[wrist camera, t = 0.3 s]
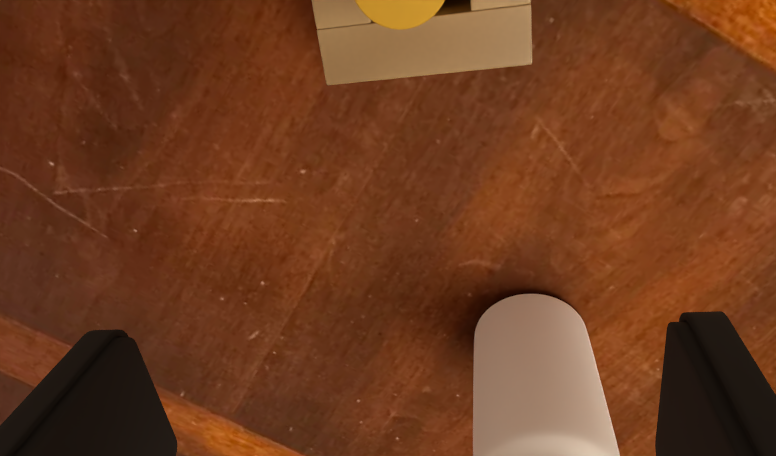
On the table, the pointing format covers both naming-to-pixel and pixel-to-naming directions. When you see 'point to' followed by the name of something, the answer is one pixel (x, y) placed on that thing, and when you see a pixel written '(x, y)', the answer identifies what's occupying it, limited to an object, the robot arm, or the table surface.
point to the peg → (399, 12)
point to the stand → (422, 40)
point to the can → (537, 383)
